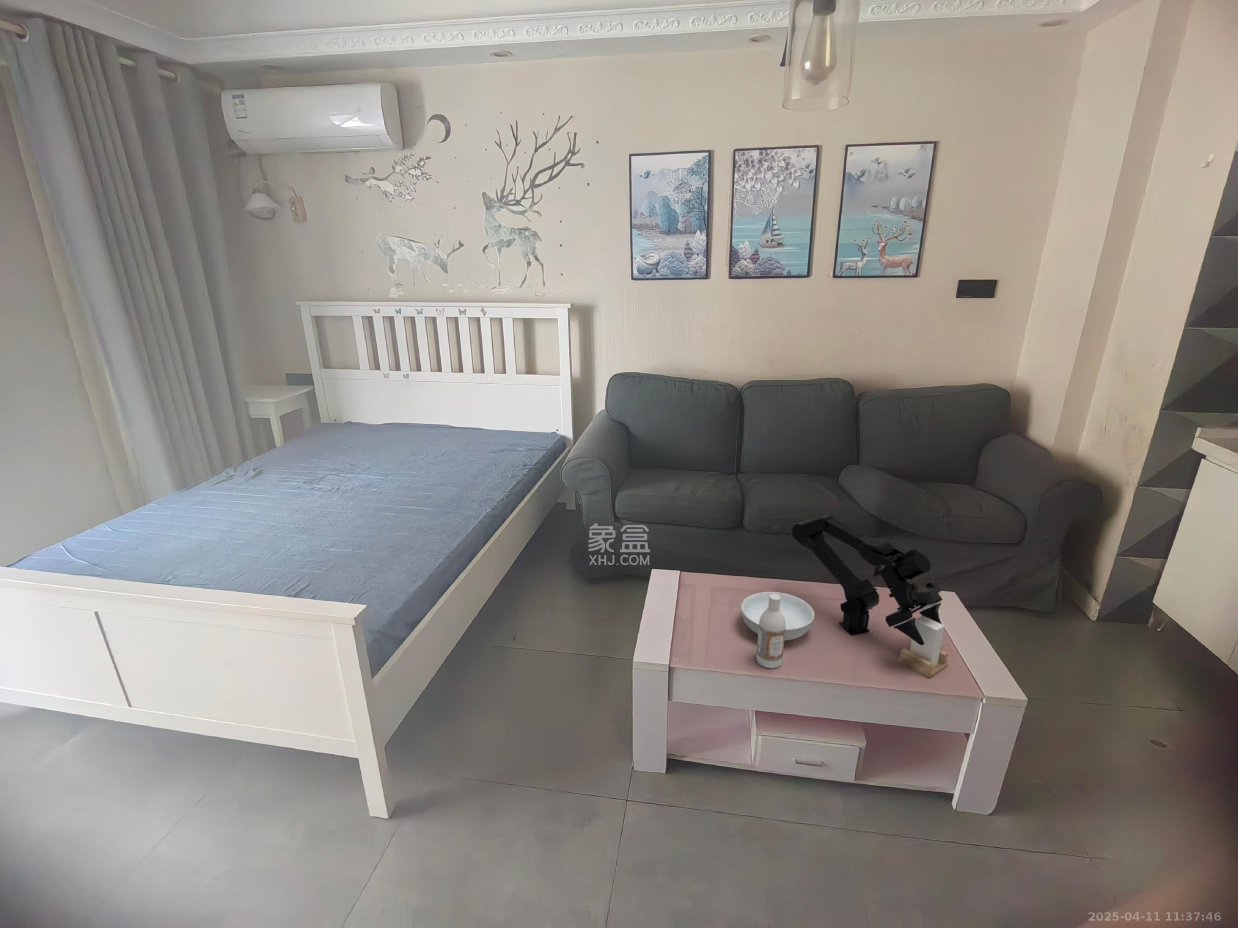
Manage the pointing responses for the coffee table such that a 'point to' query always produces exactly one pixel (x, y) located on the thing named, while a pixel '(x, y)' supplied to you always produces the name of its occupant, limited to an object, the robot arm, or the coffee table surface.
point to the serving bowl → (791, 607)
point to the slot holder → (923, 663)
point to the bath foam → (771, 635)
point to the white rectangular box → (928, 639)
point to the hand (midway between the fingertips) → (932, 638)
